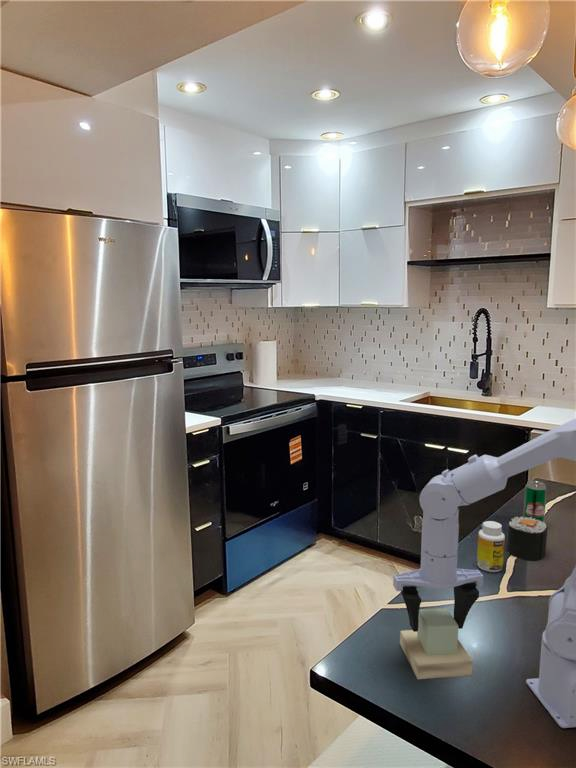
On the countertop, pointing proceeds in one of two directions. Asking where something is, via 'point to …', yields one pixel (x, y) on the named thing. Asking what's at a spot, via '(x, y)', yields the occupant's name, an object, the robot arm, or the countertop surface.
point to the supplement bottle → (490, 547)
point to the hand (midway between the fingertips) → (436, 626)
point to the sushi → (527, 538)
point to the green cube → (437, 631)
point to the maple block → (434, 659)
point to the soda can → (535, 500)
